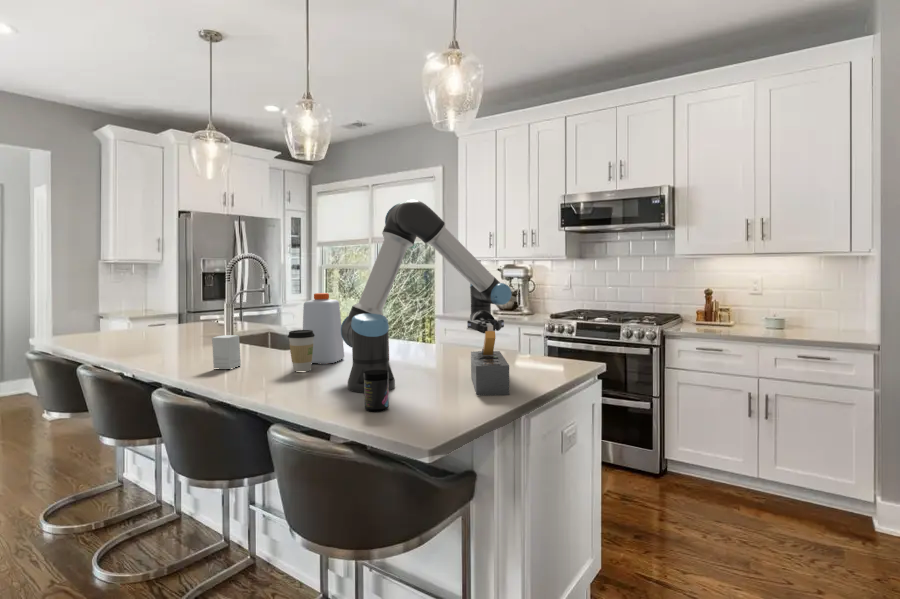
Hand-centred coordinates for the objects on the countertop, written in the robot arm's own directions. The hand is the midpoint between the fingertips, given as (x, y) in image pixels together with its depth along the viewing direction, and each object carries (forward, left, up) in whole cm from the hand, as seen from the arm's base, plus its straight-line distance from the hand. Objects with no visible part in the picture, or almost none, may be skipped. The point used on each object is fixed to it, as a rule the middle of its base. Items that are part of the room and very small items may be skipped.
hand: (490, 330), depth 171 cm
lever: (+3, +6, -8) cm, 11 cm away
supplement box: (-65, +84, -19) cm, 109 cm away
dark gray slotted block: (+5, +10, -19) cm, 21 cm away
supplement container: (-40, -3, -19) cm, 45 cm away
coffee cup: (-42, +62, -19) cm, 78 cm away
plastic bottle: (-29, +77, -19) cm, 85 cm away
